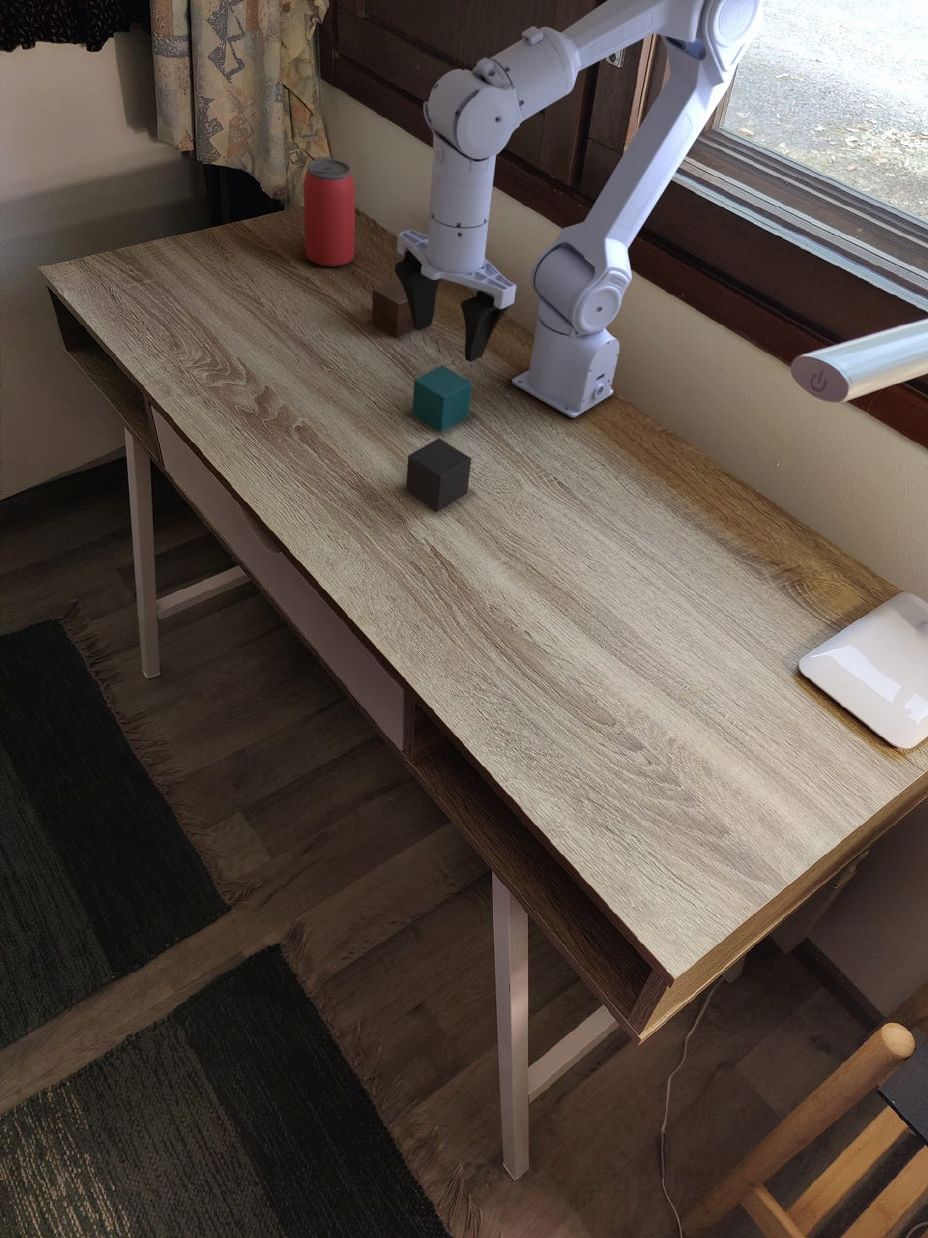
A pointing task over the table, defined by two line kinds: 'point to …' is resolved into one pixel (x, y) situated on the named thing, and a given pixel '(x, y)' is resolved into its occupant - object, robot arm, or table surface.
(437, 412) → the teal block
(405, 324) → the walnut block
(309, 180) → the beer can
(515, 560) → the table surface
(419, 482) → the charcoal block
